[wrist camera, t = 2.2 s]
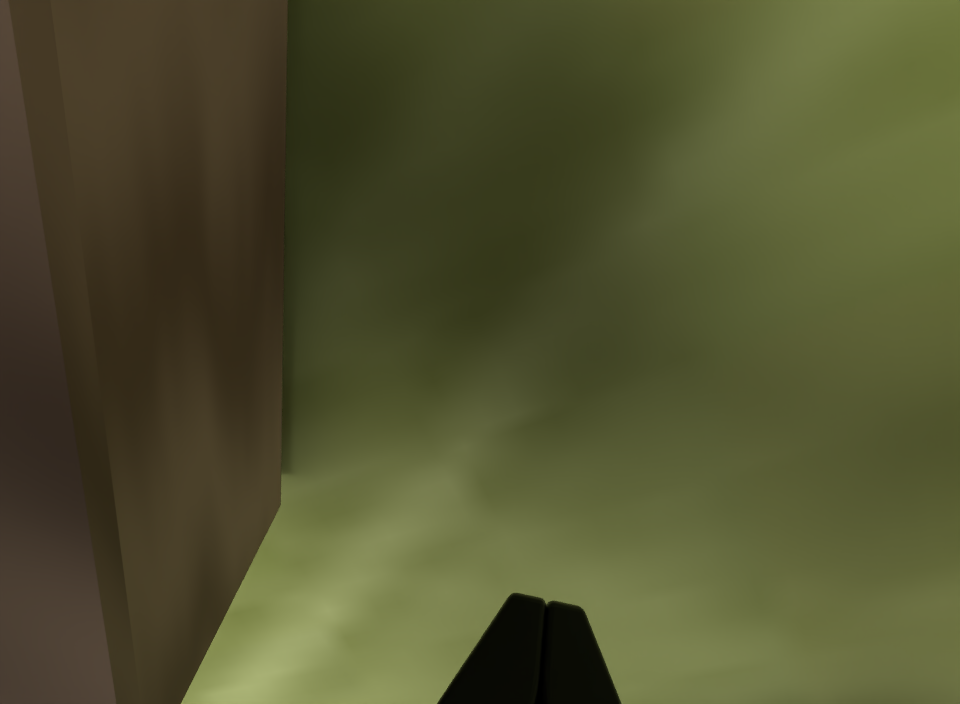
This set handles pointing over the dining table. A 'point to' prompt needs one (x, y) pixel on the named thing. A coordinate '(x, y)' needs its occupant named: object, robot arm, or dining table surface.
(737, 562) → the dining table surface
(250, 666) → the dining table surface
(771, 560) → the dining table surface
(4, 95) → the brown wooden plank
